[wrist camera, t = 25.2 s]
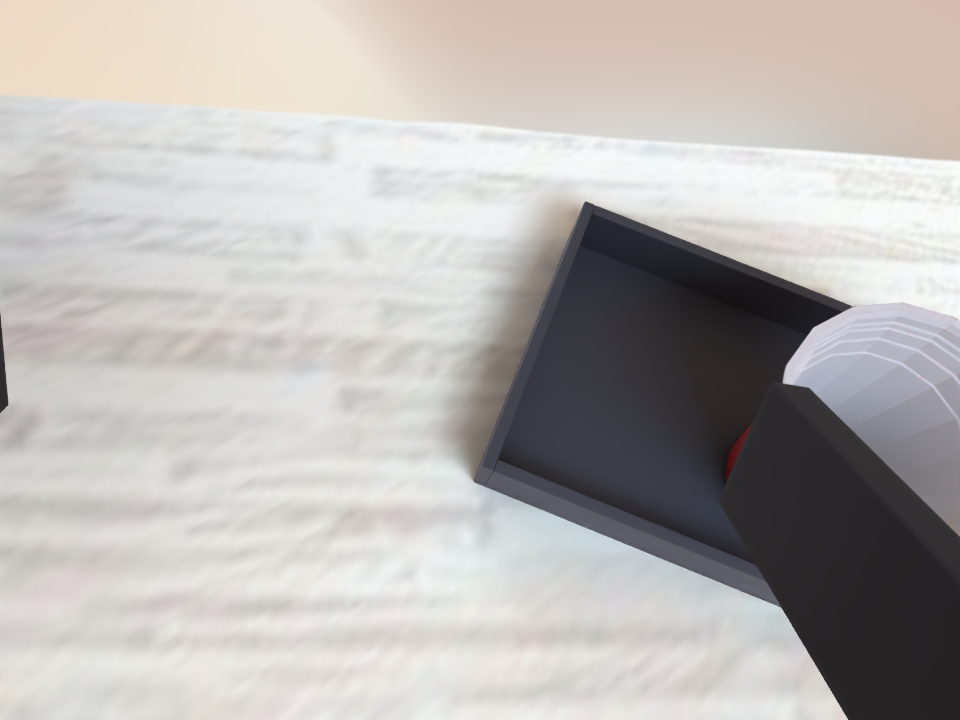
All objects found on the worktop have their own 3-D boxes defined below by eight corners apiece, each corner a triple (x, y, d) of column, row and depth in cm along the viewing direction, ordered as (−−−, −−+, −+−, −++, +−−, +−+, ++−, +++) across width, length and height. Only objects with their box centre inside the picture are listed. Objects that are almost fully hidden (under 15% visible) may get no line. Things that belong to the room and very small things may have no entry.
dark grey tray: (473, 482, 37) (481, 466, 33) (568, 238, 43) (585, 200, 39) (868, 643, 37) (923, 645, 33) (911, 373, 42) (961, 348, 39)
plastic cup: (645, 414, 39) (744, 331, 28) (813, 368, 41) (967, 274, 30) (721, 613, 36) (868, 610, 25) (899, 552, 38) (1109, 523, 27)
